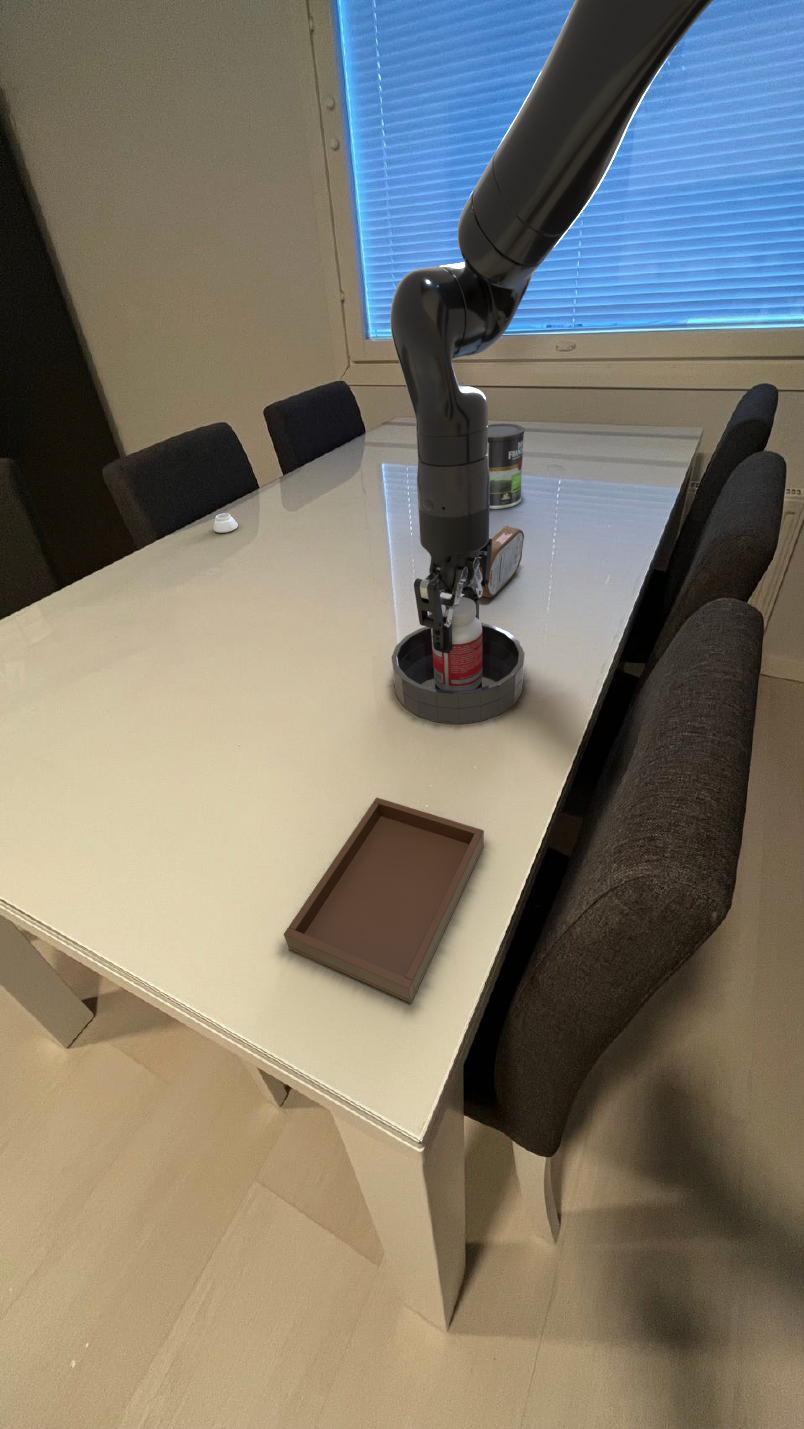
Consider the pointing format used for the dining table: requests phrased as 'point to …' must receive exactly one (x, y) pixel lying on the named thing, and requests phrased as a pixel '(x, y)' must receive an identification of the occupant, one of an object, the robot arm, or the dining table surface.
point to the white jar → (224, 523)
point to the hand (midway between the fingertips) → (457, 636)
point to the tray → (388, 897)
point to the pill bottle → (461, 651)
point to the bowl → (466, 705)
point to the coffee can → (505, 464)
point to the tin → (504, 558)
